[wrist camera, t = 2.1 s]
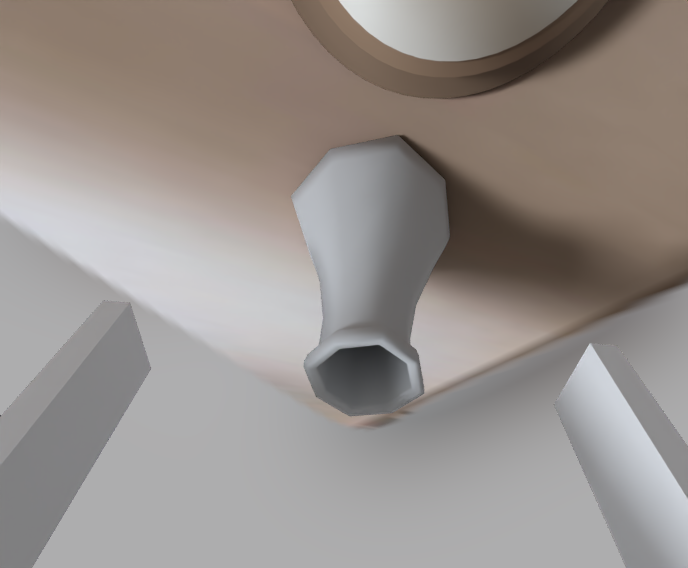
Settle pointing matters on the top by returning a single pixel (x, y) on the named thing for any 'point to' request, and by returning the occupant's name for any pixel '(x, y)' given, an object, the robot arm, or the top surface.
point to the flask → (370, 269)
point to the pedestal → (444, 39)
